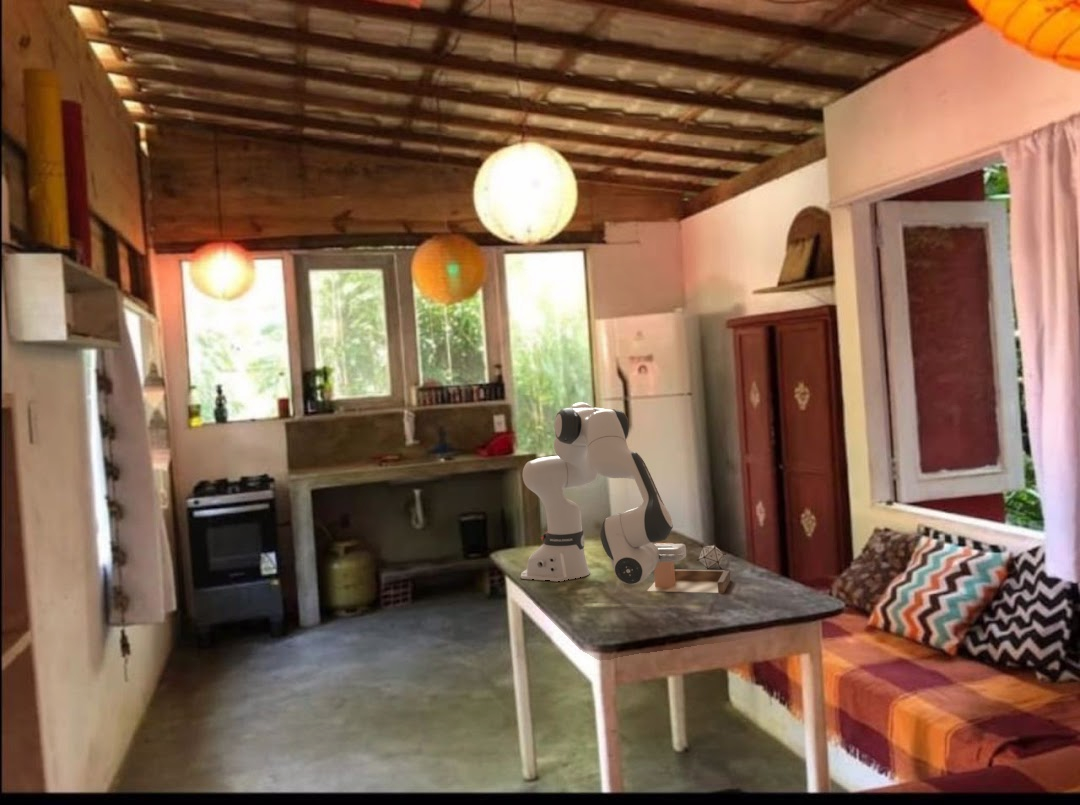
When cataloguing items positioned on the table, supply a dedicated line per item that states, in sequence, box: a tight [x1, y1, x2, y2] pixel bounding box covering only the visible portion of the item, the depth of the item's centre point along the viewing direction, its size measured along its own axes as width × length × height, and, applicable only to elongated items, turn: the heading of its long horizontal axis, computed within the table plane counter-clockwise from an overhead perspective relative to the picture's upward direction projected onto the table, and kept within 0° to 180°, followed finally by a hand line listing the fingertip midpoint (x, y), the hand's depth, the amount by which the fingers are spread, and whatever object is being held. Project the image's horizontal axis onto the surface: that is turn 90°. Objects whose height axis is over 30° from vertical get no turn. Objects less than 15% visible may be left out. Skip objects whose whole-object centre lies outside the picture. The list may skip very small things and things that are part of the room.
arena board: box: [646, 568, 731, 594], centre depth 248 cm, size 22×14×4 cm, turn 70°
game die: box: [695, 542, 727, 570], centre depth 269 cm, size 9×8×10 cm
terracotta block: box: [653, 542, 675, 587], centre depth 250 cm, size 5×5×12 cm
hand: (654, 546), depth 238 cm, fingers open, 8 cm apart
